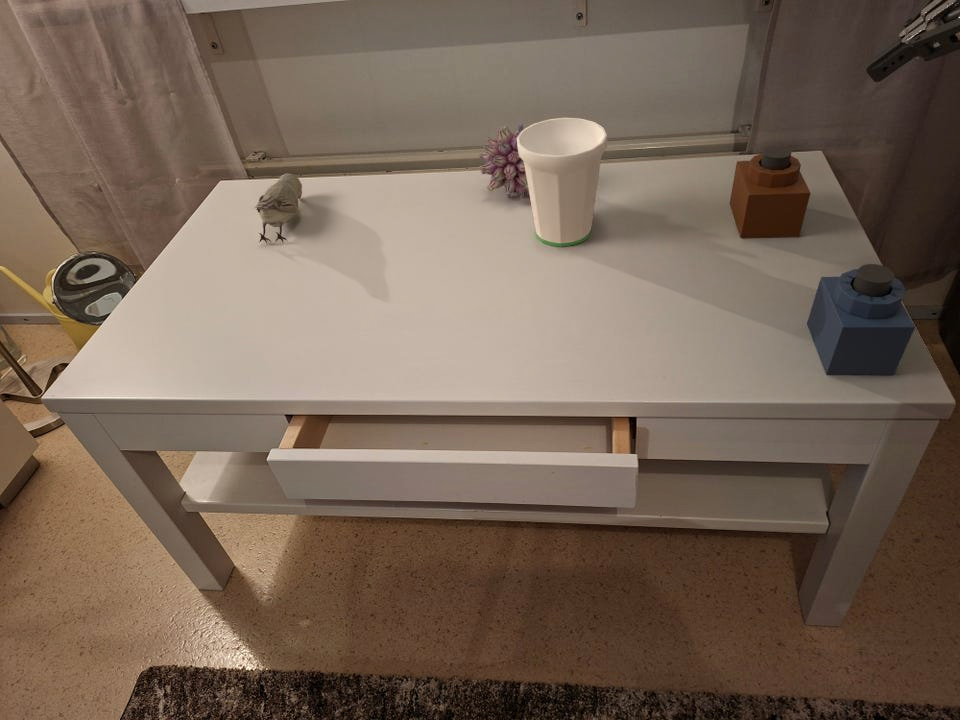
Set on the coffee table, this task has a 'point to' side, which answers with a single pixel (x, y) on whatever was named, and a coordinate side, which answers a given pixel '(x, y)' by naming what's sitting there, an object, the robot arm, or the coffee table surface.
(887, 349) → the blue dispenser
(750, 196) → the brown block with collar
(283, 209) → the decorative bird
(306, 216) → the coffee table surface
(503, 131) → the flower
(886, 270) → the dark grey round cap
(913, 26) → the robot arm
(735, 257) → the coffee table surface
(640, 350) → the coffee table surface
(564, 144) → the cup
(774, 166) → the grey round disc
